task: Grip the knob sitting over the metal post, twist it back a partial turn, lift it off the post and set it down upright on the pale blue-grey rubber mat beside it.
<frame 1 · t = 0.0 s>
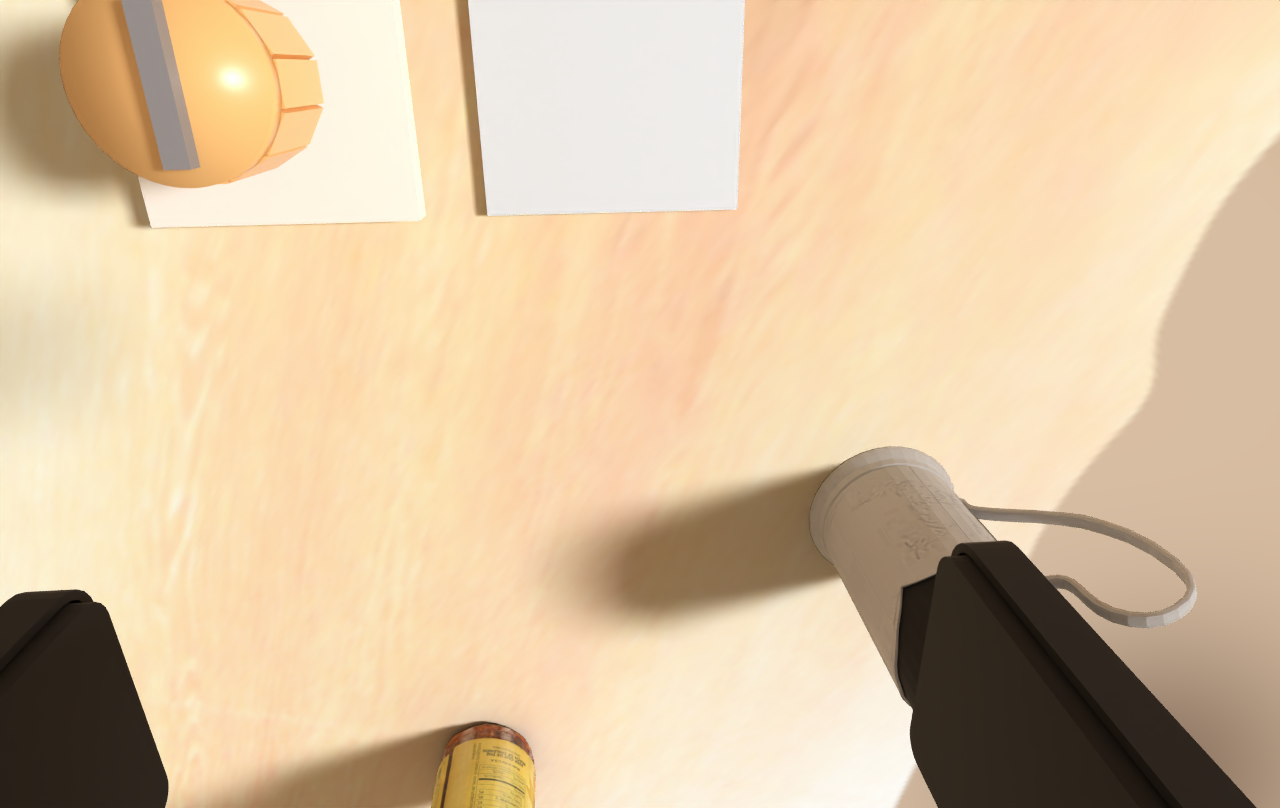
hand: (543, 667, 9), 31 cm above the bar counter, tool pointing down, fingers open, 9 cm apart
knob: (235, 83, 31), point 4 cm above the bar counter, touching post block
sauce bottle: (491, 749, 51), on the bar counter
post block: (272, 81, 34), on the bar counter
mat: (609, 76, 35), on the bar counter
glass holder: (924, 494, 46), on the bar counter
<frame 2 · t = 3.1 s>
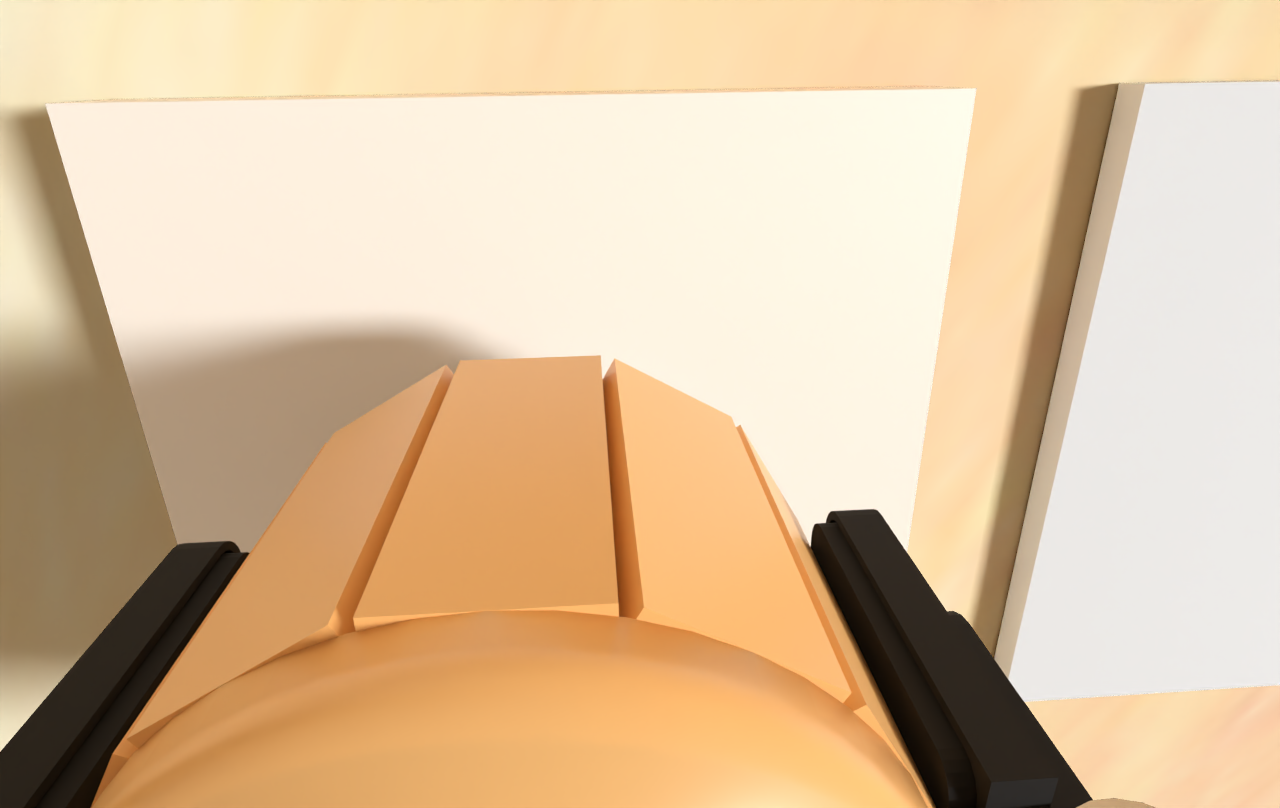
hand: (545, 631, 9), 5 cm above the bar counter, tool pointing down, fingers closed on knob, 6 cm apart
knob: (548, 594, 10), point 4 cm above the bar counter, touching gripper, post block
post block: (556, 454, 14), on the bar counter
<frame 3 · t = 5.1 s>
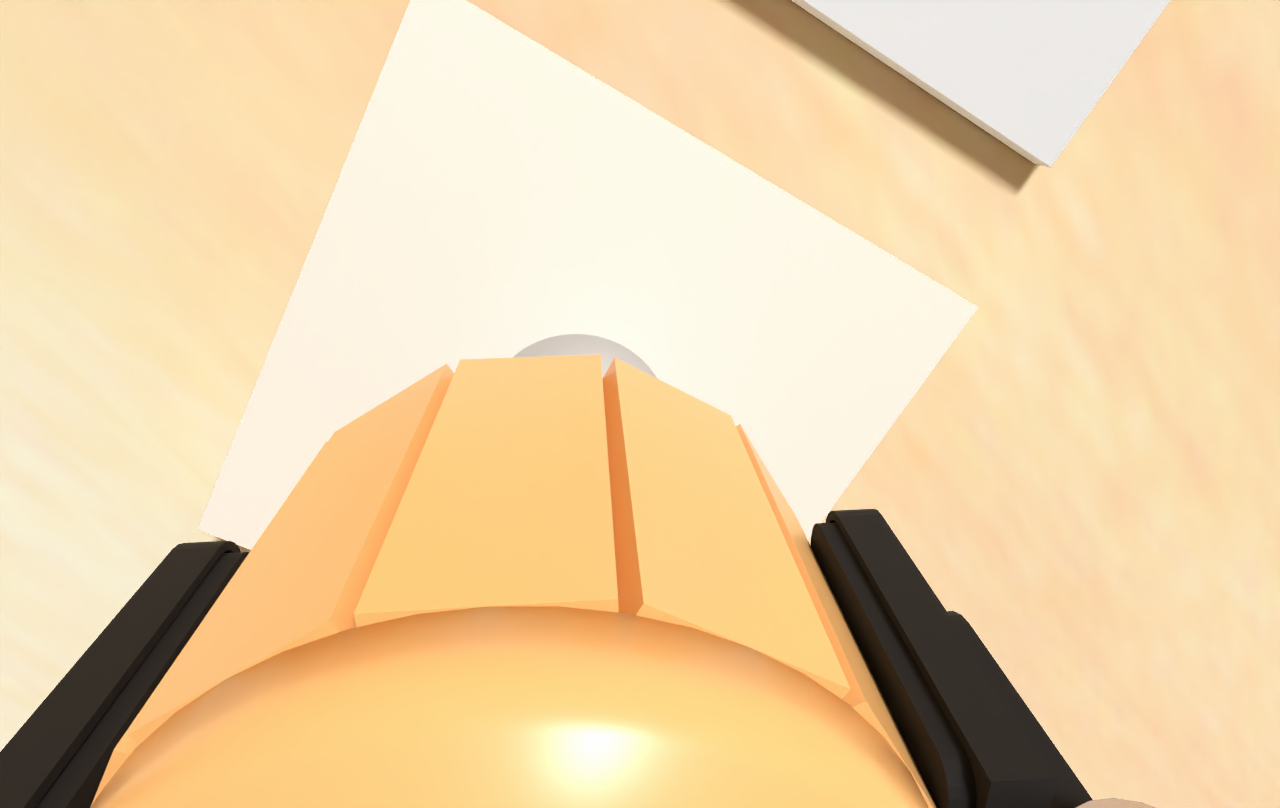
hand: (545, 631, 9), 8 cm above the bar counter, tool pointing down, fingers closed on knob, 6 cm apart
knob: (548, 593, 10), point 8 cm above the bar counter, touching gripper
post block: (578, 394, 17), on the bar counter
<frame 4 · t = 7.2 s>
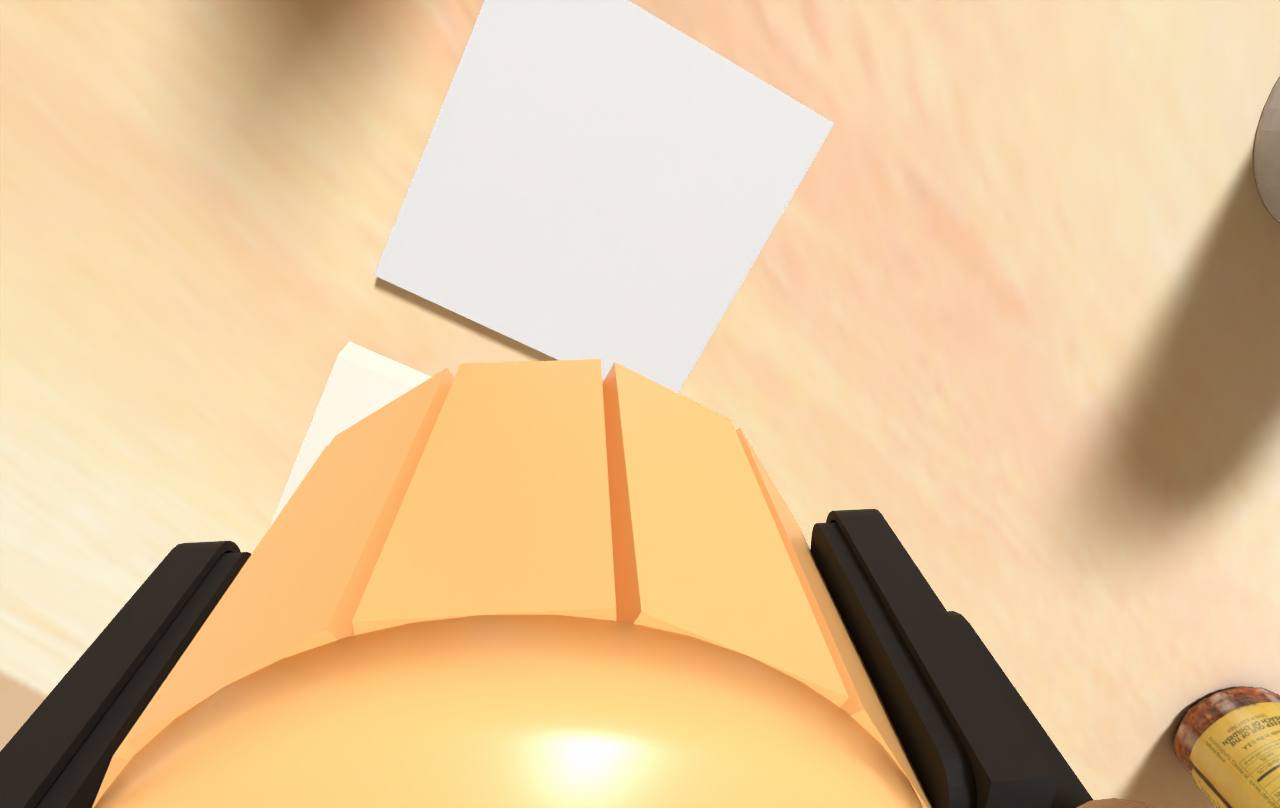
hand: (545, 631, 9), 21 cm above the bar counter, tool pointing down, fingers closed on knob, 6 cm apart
knob: (548, 597, 10), point 20 cm above the bar counter, touching gripper
sauce bottle: (1221, 718, 41), on the bar counter
post block: (439, 523, 32), on the bar counter
mat: (599, 198, 28), on the bar counter
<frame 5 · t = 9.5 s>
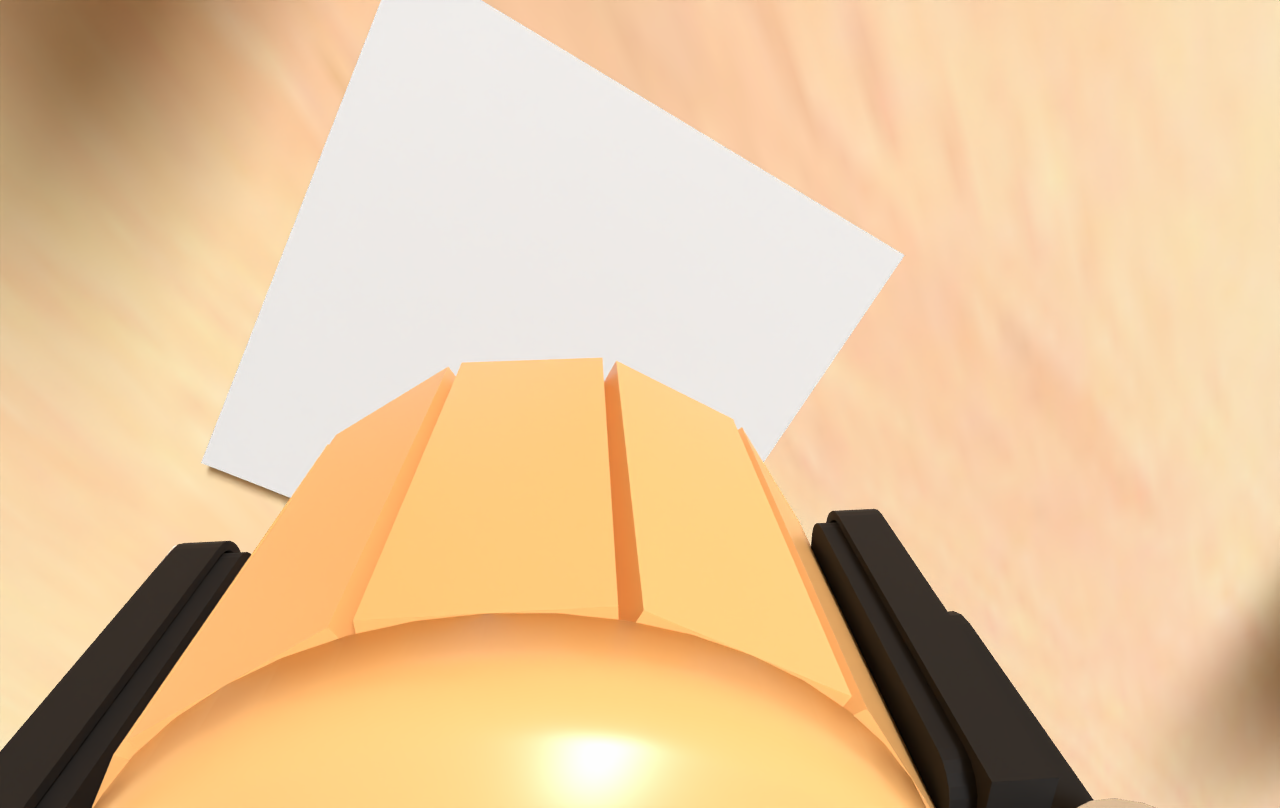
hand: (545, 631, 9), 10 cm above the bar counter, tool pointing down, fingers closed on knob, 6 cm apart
knob: (549, 596, 10), point 9 cm above the bar counter, touching gripper
mat: (547, 352, 18), on the bar counter
when the fingers open (3 cm above the bar counter, at t = 11.3 s): knob drops 2 cm, resting on mat.
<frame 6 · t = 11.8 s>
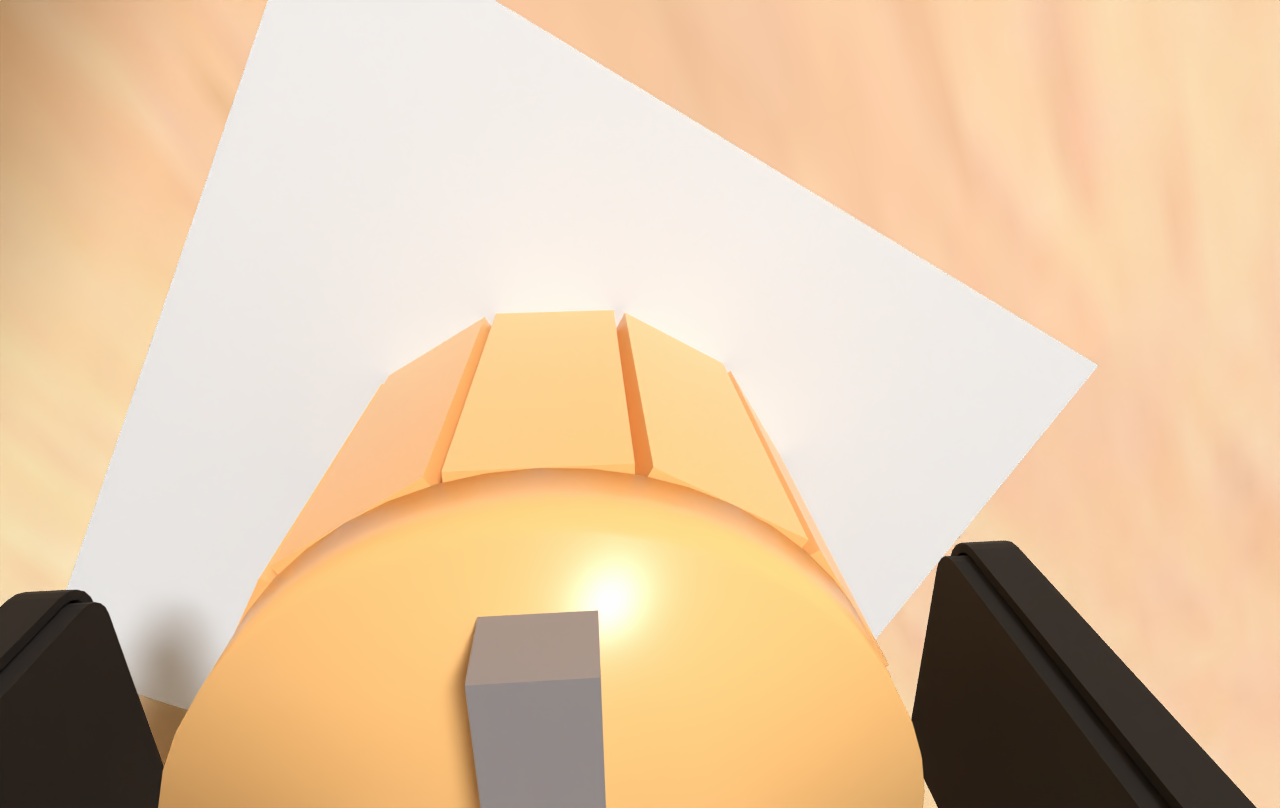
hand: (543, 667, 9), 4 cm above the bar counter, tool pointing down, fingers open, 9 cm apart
knob: (566, 518, 12), point 1 cm above the bar counter, touching mat
mat: (553, 499, 12), on the bar counter
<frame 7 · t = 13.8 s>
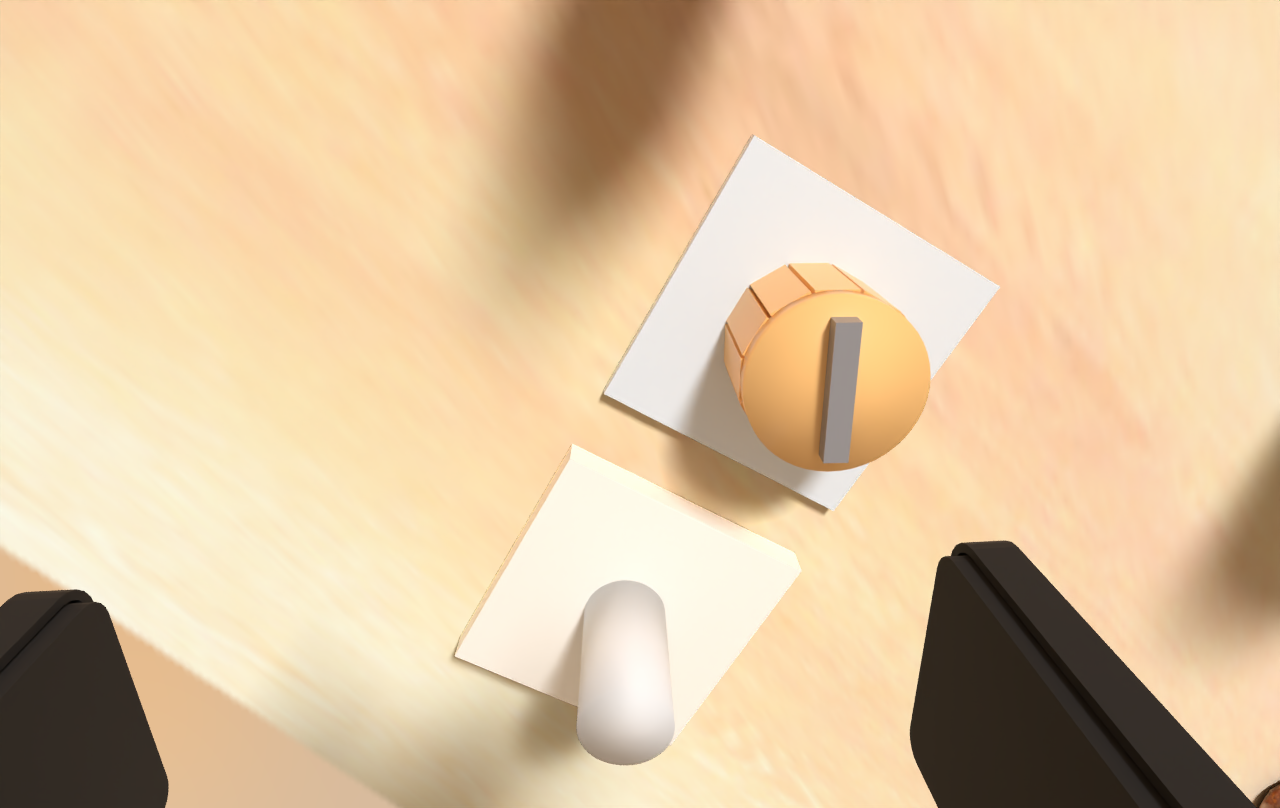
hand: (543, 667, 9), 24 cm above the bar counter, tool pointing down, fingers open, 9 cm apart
knob: (802, 341, 32), point 1 cm above the bar counter, touching mat
post block: (624, 595, 38), on the bar counter
mat: (794, 337, 33), on the bar counter
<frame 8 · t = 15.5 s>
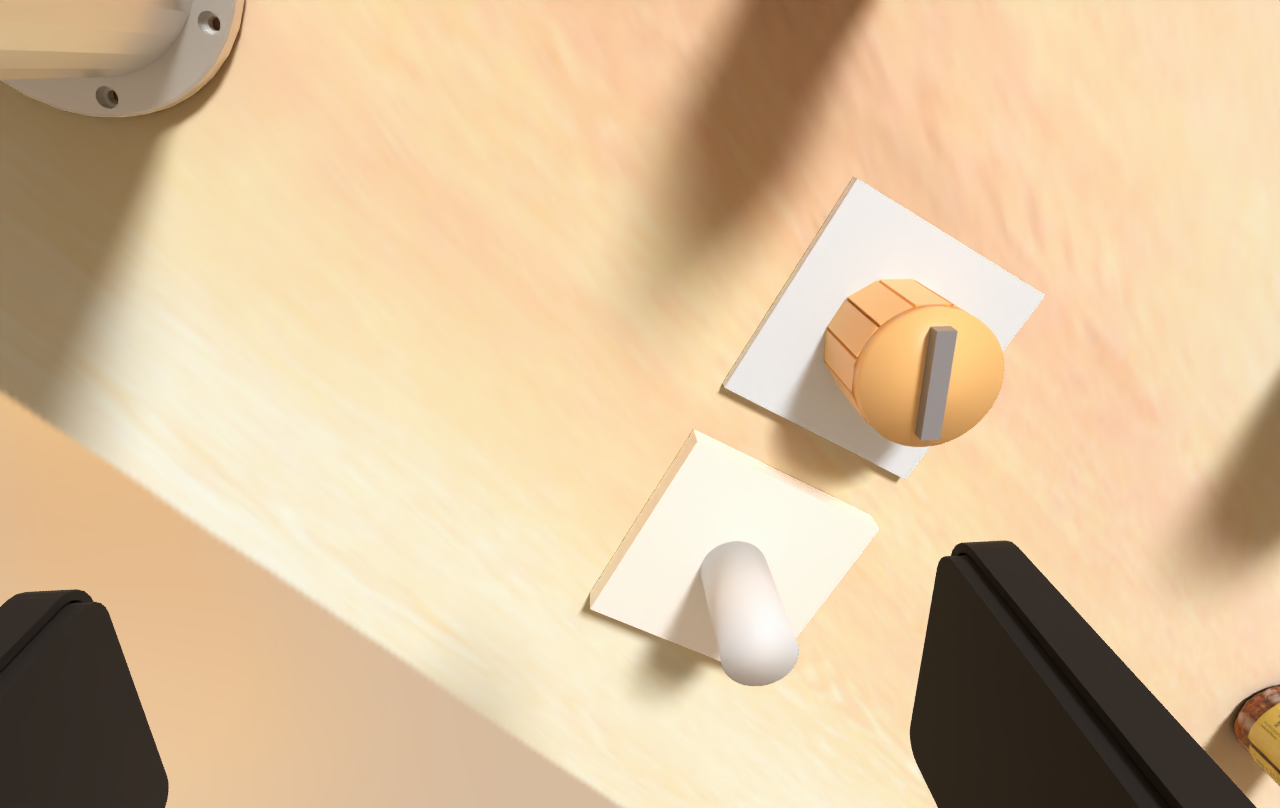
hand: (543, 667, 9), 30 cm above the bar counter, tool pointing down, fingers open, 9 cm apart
knob: (887, 341, 40), point 1 cm above the bar counter, touching mat
sauce bottle: (1269, 708, 54), on the bar counter
post block: (728, 554, 45), on the bar counter
mat: (879, 338, 40), on the bar counter
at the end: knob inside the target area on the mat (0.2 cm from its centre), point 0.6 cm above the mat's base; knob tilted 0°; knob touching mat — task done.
